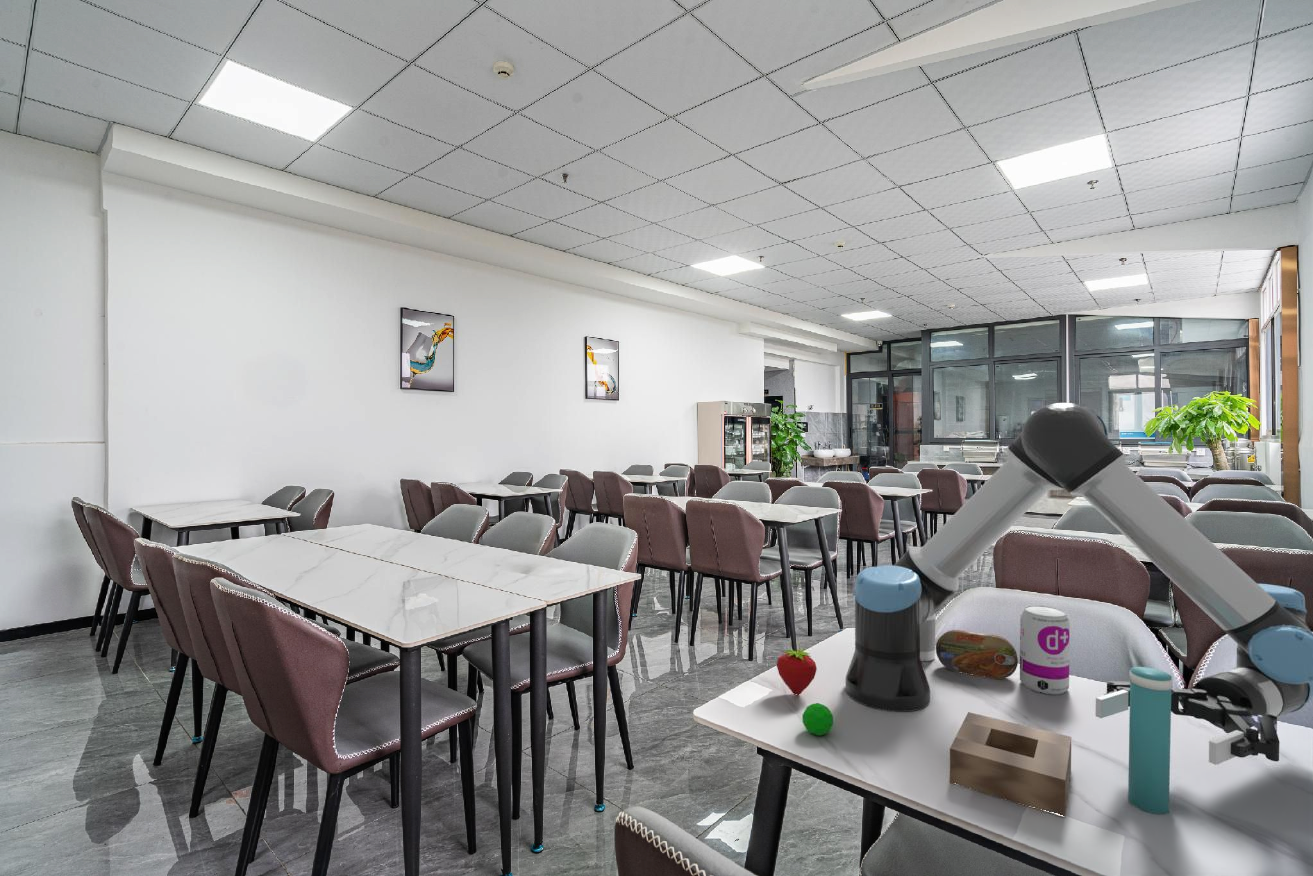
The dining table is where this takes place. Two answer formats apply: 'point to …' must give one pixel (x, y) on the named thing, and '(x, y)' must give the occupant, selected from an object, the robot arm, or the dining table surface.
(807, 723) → the polyhedron
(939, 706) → the dining table surface
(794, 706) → the dining table surface
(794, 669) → the strawberry
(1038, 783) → the socket block
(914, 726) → the dining table surface
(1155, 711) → the peg
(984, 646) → the tin
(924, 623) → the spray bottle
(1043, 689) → the supplement can
